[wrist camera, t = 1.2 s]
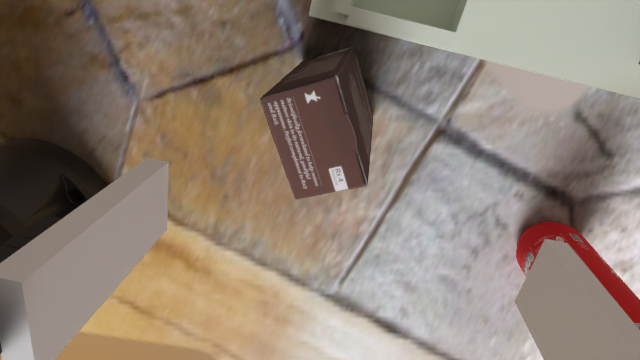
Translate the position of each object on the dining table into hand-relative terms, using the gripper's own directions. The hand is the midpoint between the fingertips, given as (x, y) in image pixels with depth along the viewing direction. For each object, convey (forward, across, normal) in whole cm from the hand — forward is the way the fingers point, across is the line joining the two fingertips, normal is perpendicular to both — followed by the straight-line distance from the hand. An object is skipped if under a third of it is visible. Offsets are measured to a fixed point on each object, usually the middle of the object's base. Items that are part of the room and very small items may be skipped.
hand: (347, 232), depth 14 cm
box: (+19, -2, +1) cm, 19 cm away
